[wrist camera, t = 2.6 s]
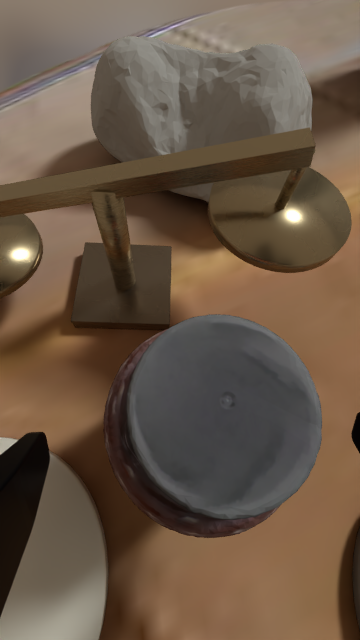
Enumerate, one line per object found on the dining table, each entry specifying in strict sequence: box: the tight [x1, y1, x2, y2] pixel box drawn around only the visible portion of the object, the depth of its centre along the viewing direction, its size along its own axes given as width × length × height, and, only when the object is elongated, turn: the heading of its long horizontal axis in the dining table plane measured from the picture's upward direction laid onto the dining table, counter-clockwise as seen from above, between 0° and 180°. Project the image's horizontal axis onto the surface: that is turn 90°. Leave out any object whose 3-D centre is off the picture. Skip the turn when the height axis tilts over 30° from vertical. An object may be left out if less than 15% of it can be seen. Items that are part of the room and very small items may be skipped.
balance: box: [0, 127, 351, 330], centre depth 14 cm, size 6×22×11 cm, turn 90°
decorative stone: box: [91, 36, 312, 202], centre depth 22 cm, size 17×10×10 cm
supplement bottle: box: [104, 315, 322, 538], centre depth 11 cm, size 6×6×11 cm
